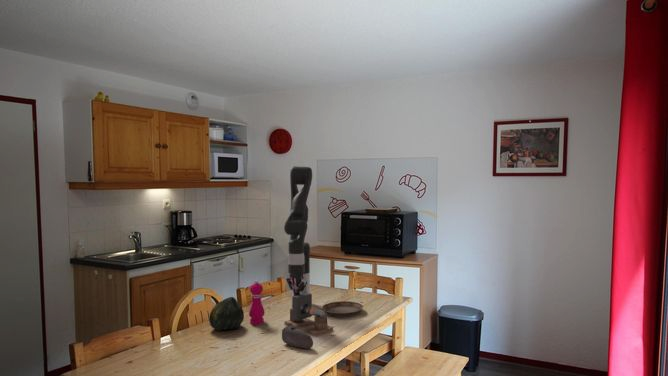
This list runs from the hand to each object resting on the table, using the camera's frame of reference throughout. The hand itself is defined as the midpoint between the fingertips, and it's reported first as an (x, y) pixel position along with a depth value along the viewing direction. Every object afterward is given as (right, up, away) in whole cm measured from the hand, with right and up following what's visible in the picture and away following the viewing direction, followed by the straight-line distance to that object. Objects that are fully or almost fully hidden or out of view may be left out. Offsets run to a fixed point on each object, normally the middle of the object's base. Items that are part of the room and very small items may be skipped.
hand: (296, 299), depth 204 cm
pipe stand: (+6, -11, -5) cm, 14 cm away
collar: (+3, -8, -2) cm, 8 cm away
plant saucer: (+21, -11, +17) cm, 30 cm away
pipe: (+6, -5, -5) cm, 9 cm away
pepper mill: (-19, -12, +3) cm, 22 cm away
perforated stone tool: (+3, -12, -28) cm, 30 cm away
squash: (-31, -12, -5) cm, 34 cm away
